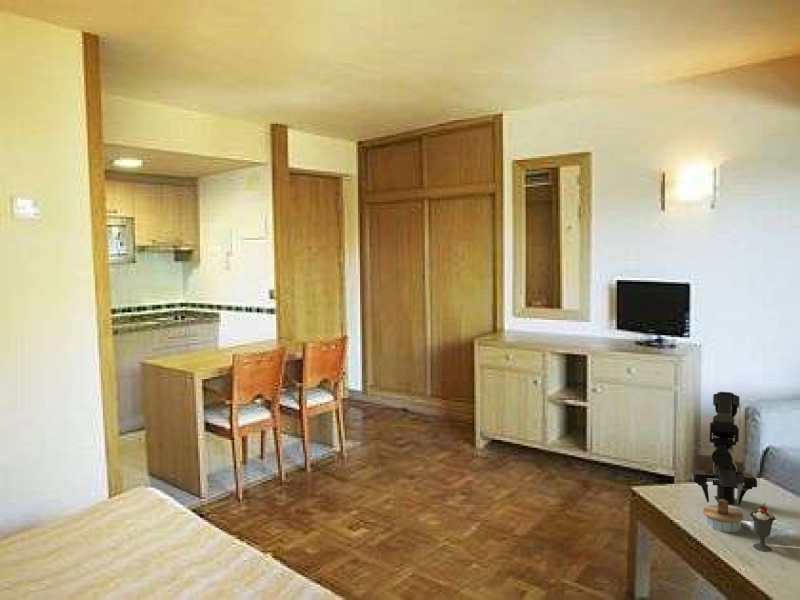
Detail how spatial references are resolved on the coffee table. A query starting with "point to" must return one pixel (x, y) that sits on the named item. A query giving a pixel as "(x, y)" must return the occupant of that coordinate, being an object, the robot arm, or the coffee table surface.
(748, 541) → the coffee table surface
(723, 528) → the bowl
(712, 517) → the lid
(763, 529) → the sundae
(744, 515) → the grey square tile
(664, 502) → the coffee table surface
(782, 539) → the coffee table surface
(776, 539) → the coffee table surface
